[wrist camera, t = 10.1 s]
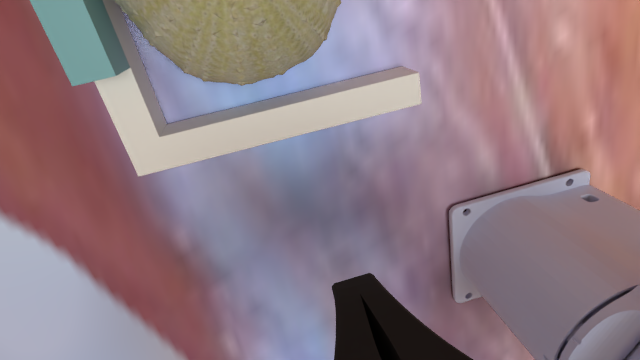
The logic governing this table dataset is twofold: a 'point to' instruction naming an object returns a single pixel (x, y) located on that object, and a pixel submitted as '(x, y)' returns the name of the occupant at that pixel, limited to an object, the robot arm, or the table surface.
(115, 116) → the comb rack
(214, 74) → the sea urchin shell
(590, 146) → the table surface
